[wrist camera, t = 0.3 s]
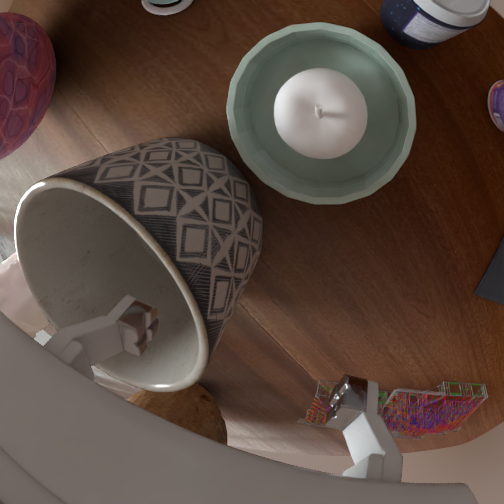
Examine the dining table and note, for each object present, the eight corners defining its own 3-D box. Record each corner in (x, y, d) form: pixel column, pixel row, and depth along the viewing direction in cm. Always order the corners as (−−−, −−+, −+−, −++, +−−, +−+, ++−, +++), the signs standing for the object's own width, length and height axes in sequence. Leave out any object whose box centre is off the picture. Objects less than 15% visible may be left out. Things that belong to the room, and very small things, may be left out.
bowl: (141, 385, 58) (84, 473, 38) (143, 323, 46) (53, 443, 25) (235, 430, 57) (193, 529, 36) (271, 384, 44) (218, 530, 23)
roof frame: (297, 413, 47) (291, 438, 42) (315, 361, 39) (309, 391, 35) (447, 429, 40) (448, 452, 36) (491, 382, 32) (497, 408, 28)
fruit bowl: (259, 24, 21) (242, 12, 17) (417, 61, 19) (432, 55, 15) (236, 165, 29) (216, 179, 25) (379, 204, 27) (385, 226, 22)
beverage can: (449, 20, 16) (507, -15, 6) (424, 63, 19) (478, 45, 9) (394, -16, 16) (419, -76, 6) (368, 27, 19) (384, -21, 9)
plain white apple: (376, 91, 21) (390, 89, 15) (346, 162, 25) (346, 189, 18) (299, 60, 22) (280, 46, 15) (273, 132, 26) (246, 147, 19)
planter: (276, 294, 35) (229, 415, 21) (141, 279, 41) (67, 359, 27) (264, 121, 26) (168, 159, 12) (107, 143, 32) (-8, 192, 18)
